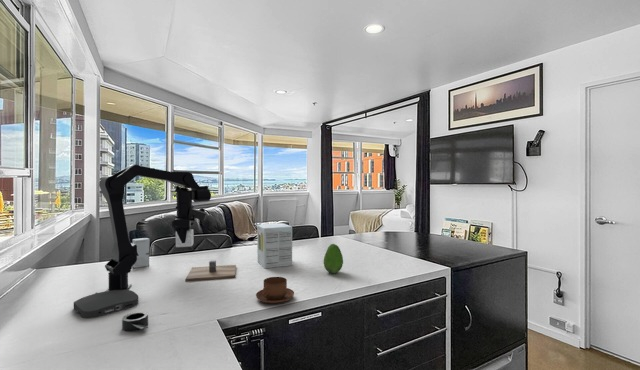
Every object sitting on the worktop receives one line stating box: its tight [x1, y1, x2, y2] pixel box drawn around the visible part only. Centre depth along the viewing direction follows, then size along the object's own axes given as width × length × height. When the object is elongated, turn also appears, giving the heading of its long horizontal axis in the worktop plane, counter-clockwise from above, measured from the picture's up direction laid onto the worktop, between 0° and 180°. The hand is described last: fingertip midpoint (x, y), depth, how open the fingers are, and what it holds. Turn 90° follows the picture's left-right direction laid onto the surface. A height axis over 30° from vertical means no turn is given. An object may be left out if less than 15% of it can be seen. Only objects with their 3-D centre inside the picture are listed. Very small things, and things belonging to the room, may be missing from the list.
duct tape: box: [121, 311, 149, 333], centre depth 81 cm, size 8×10×3 cm
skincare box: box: [131, 237, 151, 269], centre depth 139 cm, size 6×4×12 cm
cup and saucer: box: [255, 276, 295, 304], centre depth 100 cm, size 12×12×6 cm
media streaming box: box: [73, 289, 139, 319], centre depth 95 cm, size 15×15×3 cm
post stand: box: [184, 260, 237, 282], centre depth 128 cm, size 16×18×5 cm
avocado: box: [323, 243, 344, 274], centre depth 128 cm, size 8×8×12 cm
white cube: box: [175, 228, 195, 248], centre depth 127 cm, size 6×6×6 cm
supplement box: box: [256, 222, 293, 269], centre depth 143 cm, size 13×13×18 cm
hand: (184, 241), depth 127 cm, fingers closed on white cube, 6 cm apart
